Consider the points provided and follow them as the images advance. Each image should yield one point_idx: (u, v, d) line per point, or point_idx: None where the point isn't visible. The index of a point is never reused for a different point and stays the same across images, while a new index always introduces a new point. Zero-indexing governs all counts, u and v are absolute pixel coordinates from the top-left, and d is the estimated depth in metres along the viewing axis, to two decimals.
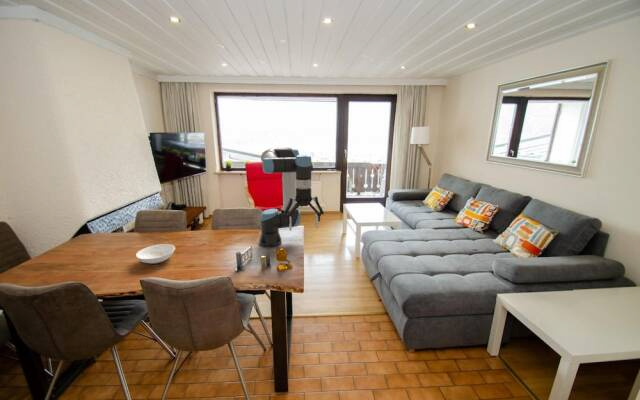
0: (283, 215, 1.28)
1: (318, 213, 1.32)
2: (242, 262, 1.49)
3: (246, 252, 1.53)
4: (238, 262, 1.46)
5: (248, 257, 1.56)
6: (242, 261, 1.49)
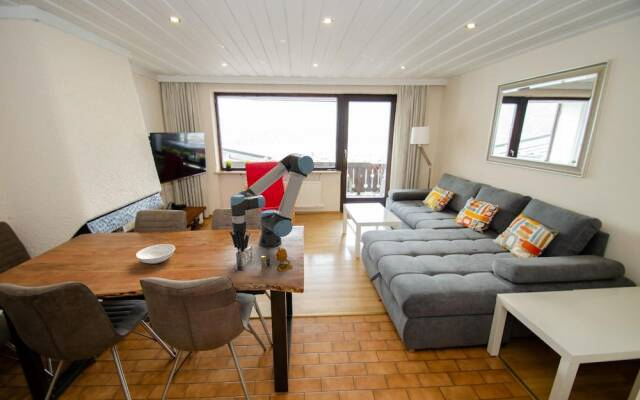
0: None
1: (241, 247, 1.53)
2: (242, 262, 1.49)
3: (246, 252, 1.53)
4: (238, 262, 1.46)
5: (248, 257, 1.56)
6: (242, 261, 1.49)
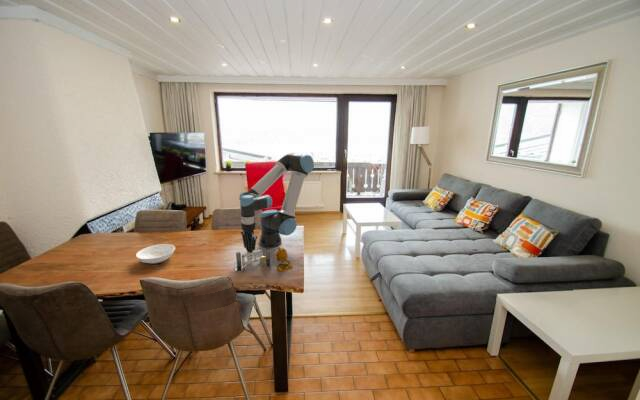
0: None
1: (249, 249, 1.51)
2: (243, 263, 1.48)
3: (251, 254, 1.50)
4: (238, 262, 1.46)
5: (254, 260, 1.52)
6: (243, 262, 1.48)
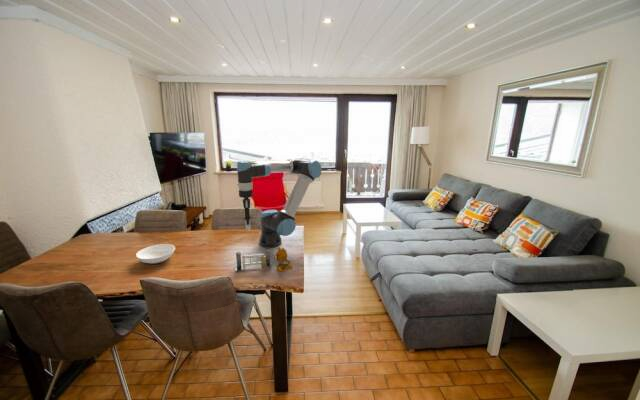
0: None
1: (245, 217, 1.48)
2: (243, 264, 1.47)
3: None
4: (238, 262, 1.46)
5: (256, 263, 1.49)
6: (243, 263, 1.47)
